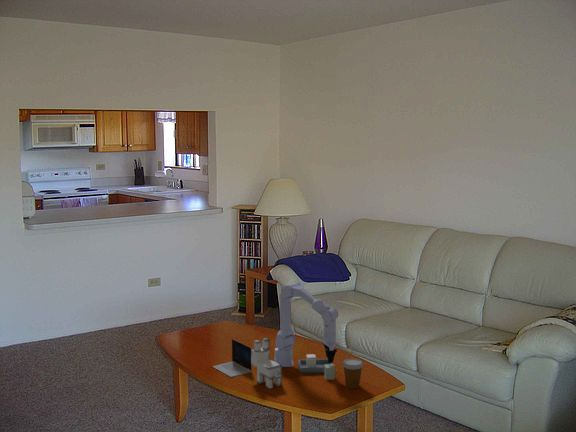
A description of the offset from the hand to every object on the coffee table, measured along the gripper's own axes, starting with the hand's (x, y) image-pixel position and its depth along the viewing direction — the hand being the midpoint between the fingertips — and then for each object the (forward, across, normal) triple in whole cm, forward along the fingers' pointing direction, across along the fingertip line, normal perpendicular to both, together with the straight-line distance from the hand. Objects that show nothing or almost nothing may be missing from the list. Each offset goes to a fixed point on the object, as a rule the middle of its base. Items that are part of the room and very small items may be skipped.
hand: (329, 359), depth 322 cm
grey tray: (+9, +12, +6) cm, 16 cm away
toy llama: (+9, -4, +30) cm, 32 cm away
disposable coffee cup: (+9, -12, -10) cm, 18 cm away
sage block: (+9, 0, 0) cm, 9 cm away
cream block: (+8, +12, +8) cm, 16 cm away
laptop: (+10, +14, +48) cm, 51 cm away
